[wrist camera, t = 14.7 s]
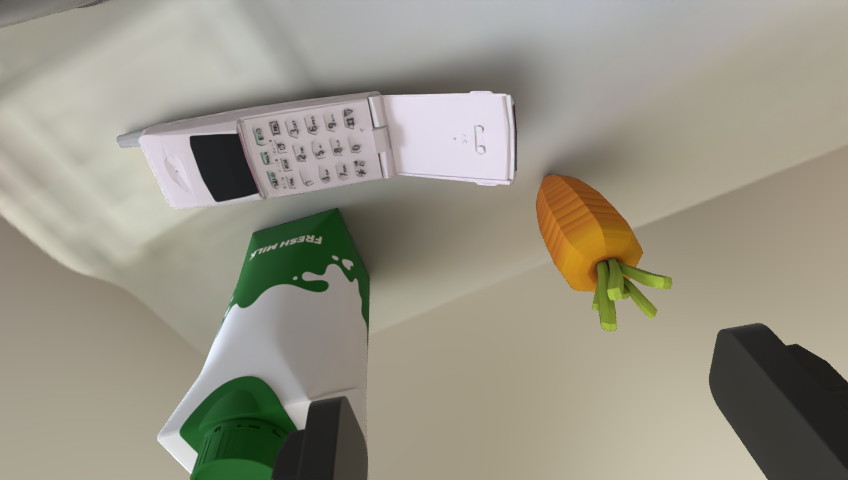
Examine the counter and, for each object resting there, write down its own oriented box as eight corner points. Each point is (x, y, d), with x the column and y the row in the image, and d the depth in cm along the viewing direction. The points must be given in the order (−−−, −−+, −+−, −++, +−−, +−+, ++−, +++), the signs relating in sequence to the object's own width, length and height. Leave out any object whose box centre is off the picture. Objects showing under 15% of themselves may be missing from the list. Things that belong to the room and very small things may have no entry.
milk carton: (344, 193, 36) (311, 429, 19) (384, 284, 41) (385, 535, 24) (235, 226, 37) (112, 479, 20) (287, 311, 42) (223, 571, 25)
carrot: (579, 141, 35) (689, 262, 22) (582, 199, 38) (682, 338, 25) (511, 157, 35) (583, 286, 23) (519, 214, 38) (586, 357, 25)
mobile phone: (519, 185, 30) (119, 246, 30) (499, 149, 35) (157, 201, 35) (516, 88, 27) (68, 156, 27) (495, 63, 32) (117, 121, 32)
